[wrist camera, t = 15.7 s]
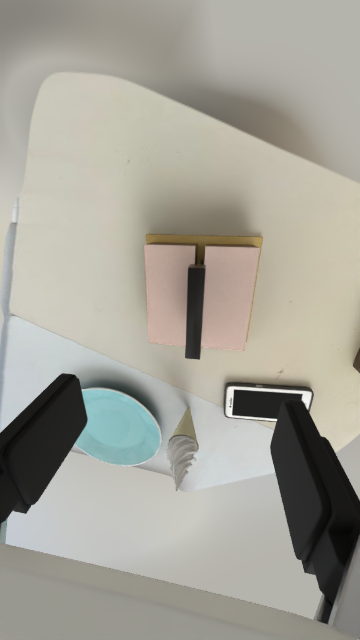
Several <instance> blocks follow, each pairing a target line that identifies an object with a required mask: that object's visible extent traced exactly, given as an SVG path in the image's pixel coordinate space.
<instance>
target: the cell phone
mask: <svg viewBox="0 0 360 640" xmlns="http://www.w3.org/2000/svg"><path fill="white" fill-rule="evenodd" d="M313 396H314V393H313V391H312V389H310V388H301V387H284V386H268V385H256V384H238V383H228V384H227V385H226V387H225V399H224V415H225V416H226V417H227V418H235V419H243V418H244V419H246V420H258V421H269V422H277V418H278V415H279V411H280V407H281V404H282V402H286V400H287V399H294V400H302V401H303V402H304V403H305V405H306V407H307V409H308V411H309V412H310V408H311V404H312V400H313Z"/></svg>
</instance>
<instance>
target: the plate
mask: <svg viewBox="0 0 360 640" xmlns="http://www.w3.org/2000/svg"><path fill="white" fill-rule="evenodd" d="M81 391H82V395H83V400H84V404H85V409H86V413H87V417H88V421H87V424H86V427H85V428H84V430H83V431H82V433H81V434H80V436H79V437H78V439H77V441H76V442H75V445H76V446H77V447H78V448H79V449H80V450H82V451H83V452H85V453H86V454H88V455H90V456H91V457H93V458H95V459H98V460H100V461H103V462H106V463H109V464H113V465H119V466H135V465H139V464H143V463H145V462H147V461H149V460H150V459H152V458H153V457H154V456H155V455H156V454H157V453H158V451H159V449H160V447H161V444H162V433H161V429H160V427H159V424H158V422H157V421H156V419H155V418H154V416H153V415H152V414H151V413H150V411H149V410H148V409H147V408H146V407H145V406H144V405H143V404H141V403H140V402H139V401H137V400H136V399H135V398H133V397H131V396H129V395H127V394H125V393H123V392H121V391H118V390H114V389H110V388H103V387H91V388H84V389H81Z"/></svg>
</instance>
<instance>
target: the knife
mask: <svg viewBox="0 0 360 640" xmlns="http://www.w3.org/2000/svg"><path fill="white" fill-rule="evenodd" d="M202 262H203V260H200V261H199V263H198V265H197V264H190V265H189V267H188V281H187V315H186V349H185V358H188V359H200V354H201V340H202V323H203V307H204V291H205V275H206V265H202Z"/></svg>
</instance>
